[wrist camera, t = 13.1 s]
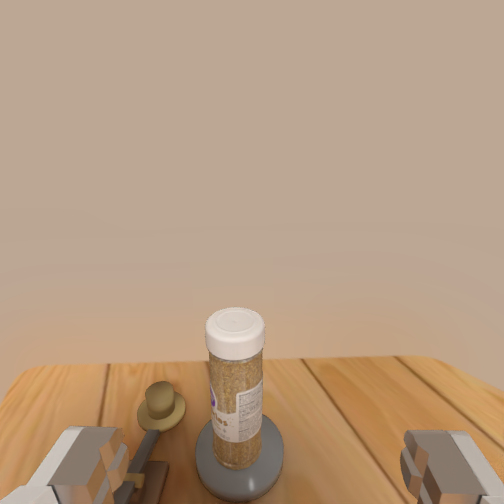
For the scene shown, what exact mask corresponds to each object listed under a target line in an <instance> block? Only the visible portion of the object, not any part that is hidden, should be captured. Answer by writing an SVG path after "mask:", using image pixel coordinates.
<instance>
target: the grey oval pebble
mask: <svg viewBox="0 0 504 504" xmlns="http://www.w3.org/2000/svg"><path fill="white" fill-rule="evenodd" d="M261 439H262V449H261V454H260V456H259V458H258V459H257V460H256V461H255V462H254V463H253V464H252V465H251V466H249V467H248V468H244V469H240V470H232V469H227V468H225V467H224V466H222V465H221V464H220V463H219V462H218V461H217V460H216V458H215V457H214V454H213V450H212V443H213V426H212V419H211V420H210V421H209V422H208V423H207V424H206V425H205V427H204V428H203V429H202V431H201V433H200V435H199V437H198V440H197V443H196V450H195V455H196V466H197V472H198V475H199V478H200V480H201V482H202V483H203V485H204V486H205V487H206V489H207V490H208V491H209V492H210V493H212V494H213V495H214V496H216V497H217V498H220V499H222V500H225V501H228V502H235V503H241V502H248V501H251V500H254V499H257V498H259V497H261V496H262V495H264V494H265V493H267V492H268V491H269V490H270V489H271V488H272V487H273V485H274V484H275V483H276V481H277V479H278V478H279V475H280V473H281V470H282V465H283V440H282V437H281V434H280V432H279V430H278V428H277V427H276V425H275V424H274V423H273V422H272V421H271V420H270V419H269V418H268V417H266V416H265V415H263V414H262V423H261Z"/></svg>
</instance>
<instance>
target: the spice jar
mask: <svg viewBox="0 0 504 504" xmlns="http://www.w3.org/2000/svg"><path fill="white" fill-rule="evenodd" d="M205 338H206V346H207V348H208V351H209V359H210V376H211V377H210V379H211V380H210V391H211V413H212V426H213V443H212V450H213V454H214V457H215V458H216V460H217V461H218V462H219V463H220V464H221V465H222V466H224V467H225V468H227V469H232V470H240V469H244V468H248V467H249V466H251V465H252V464H253V463H254V462H255V461H256V460H257V459H258V458H259V456H260V454H261V449H262V439H261V423H262V395H263V371H262V350H263V346H264V343H265V323H264V320H263V318H262V317H261V315H260V314H258V313H256V312H255V311H253V310H250V309H247V308H241V307H232V308H225V309H222V310H219V311H217V312H215V313H213V314H212V315H211V316H210V317H209V318H208V319H207V321H206V324H205Z"/></svg>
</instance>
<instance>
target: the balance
mask: <svg viewBox="0 0 504 504" xmlns="http://www.w3.org/2000/svg"><path fill="white" fill-rule="evenodd" d="M145 397H146V399H145V400H144V401H143V402H142V404H141V405H140V407H139V409H138V412H137V418H138V423H139V425H140V427H141V428H142V429H143V430H145V431H147V433H146V435H145V437H144V439H143V441H142V443H141V445H140V447H139V449H138V451H137V453H136V455H135V457H134V458H133V460H129V463H128V468H127V473H126V475H125V478H124V480H123V483H122V485H121V486H120V487H119V488H117V489H116V490H115V492H114V494H113V497H114V504H159V501H160V497H161V494H162V491H163V487H164V484H165V480H166V477H167V474H168V470H169V463H168V462H163V461H148V459H149V457H150V455H151V453H152V451H153V448H154V446H155V444H156V442H157V440H158V437H159V435H160V433H161V432H165V431H168V430H170V429H172V428H173V427H175V426H176V425H177V424H178V423H179V422H180V421H181V420H182V418H183V417H184V414H185V410H186V407H185V401H184V398H183V397H182V396H181V395H180V394H179V393H177V392H174V391H173V386H172V385H171V384H170V383H169V382H165V381H161V382H157V383H154V384H152V385H151V386H150V387H149V388H148V389H147V390H146V393H145Z"/></svg>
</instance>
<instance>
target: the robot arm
mask: <svg viewBox="0 0 504 504" xmlns="http://www.w3.org/2000/svg"><path fill="white" fill-rule="evenodd" d="M123 438H124V432H123V429H122V428H115V427H91V426H69V427H68V428H67V429H65V430H64V431H63V433H62V434H61V436H60V437H59V438H58V440H57V441H56V443H55V444H54V446H53V447H52V448H51V450H50V451H49V453H48V454H47V456H46V457H45V459H44V460H43V461H42V463H41V464H40V466H39V467H38V469H37V470H36V472H35V473H34V474H33V476H32V477H31V479H30V480H29V482H28V483H27V485H20V486H19V487H18V488H16V489H15V490H14V491H12V492H11V493H10V494H8V495H7V496H6V497H4V498H3V499H2V500H0V504H114V497H113V492H114V491H115V490H116V489H117V488H119V487H120V486H121V485H122V483H123V480H124V478H125V475H126V473H127V468H128V463H129V451H128V447H127V446H126V445H125V444H124V443H123V442H122V440H123ZM404 442H405V444H406V446H407V447H405V448H404V449H403V450H402V451H401V457H400V464H401V471H402V475H403V479H404V482H405V484H406V487H407V489H408V491H409V492H410V493H411V494H412V495H413V496H414V497H415V498H416V499H417V500H418V502H417V504H504V484H503V483H502V481H501V480H500V478H499V477H498V475H497V474H496V472H495V471H494V470H493V468H492V467H491V465H490V464H489V462H488V461H487V459H486V458H485V457H484V455H483V454H482V452H481V451H480V449H479V448H478V446H477V445H476V444H475V442H474V441H473V439H472V438H471V436H470V435H469V434H468V433H467V432H465V431H443V430H407V431H406V432H405V435H404Z"/></svg>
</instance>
